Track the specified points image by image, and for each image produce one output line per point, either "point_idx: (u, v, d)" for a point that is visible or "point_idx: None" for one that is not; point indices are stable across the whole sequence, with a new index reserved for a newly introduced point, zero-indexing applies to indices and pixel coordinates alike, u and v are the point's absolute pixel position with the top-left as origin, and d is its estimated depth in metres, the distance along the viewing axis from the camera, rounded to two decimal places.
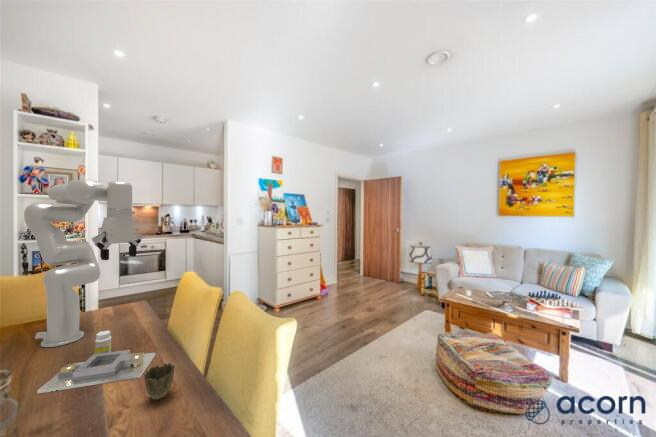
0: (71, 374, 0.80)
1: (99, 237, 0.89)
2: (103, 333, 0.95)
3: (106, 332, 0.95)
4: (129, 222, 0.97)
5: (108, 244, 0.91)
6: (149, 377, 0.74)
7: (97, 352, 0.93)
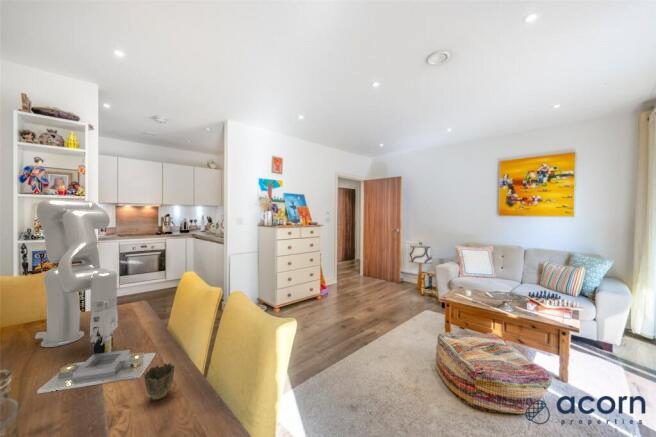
0: (71, 374, 0.80)
1: None
2: None
3: None
4: None
5: None
6: (149, 377, 0.74)
7: None
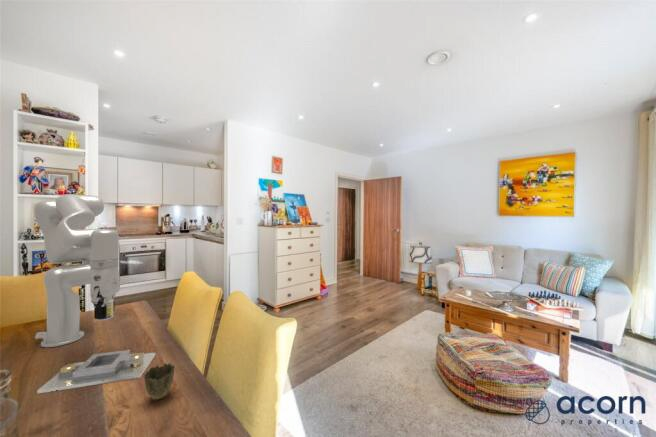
0: (71, 374, 0.80)
1: None
2: None
3: None
4: None
5: None
6: (149, 377, 0.74)
7: None
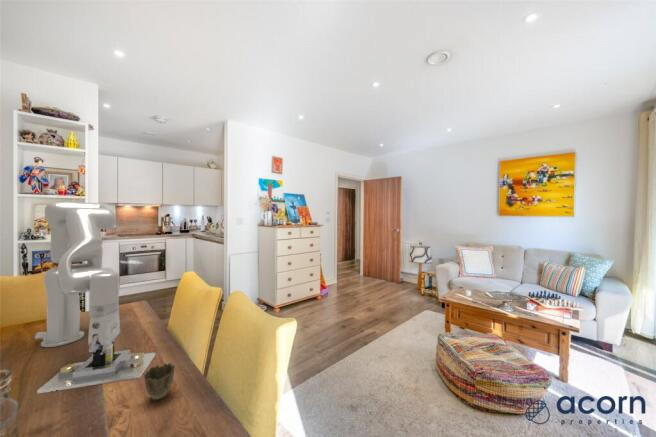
0: (71, 374, 0.80)
1: None
2: None
3: None
4: None
5: None
6: (149, 377, 0.74)
7: None
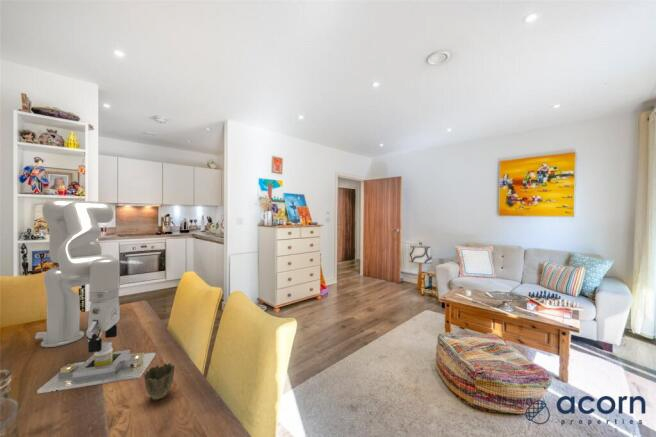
0: (71, 374, 0.80)
1: None
2: (104, 345, 0.84)
3: (107, 344, 0.85)
4: None
5: None
6: (149, 377, 0.74)
7: None
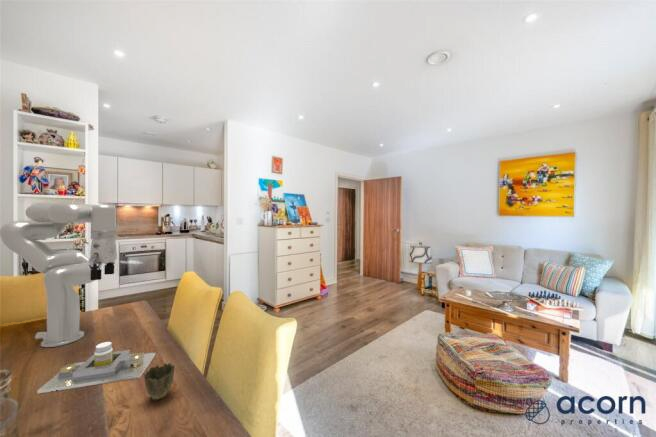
0: (71, 374, 0.80)
1: None
2: (104, 345, 0.84)
3: (107, 344, 0.85)
4: None
5: None
6: (149, 377, 0.74)
7: None
